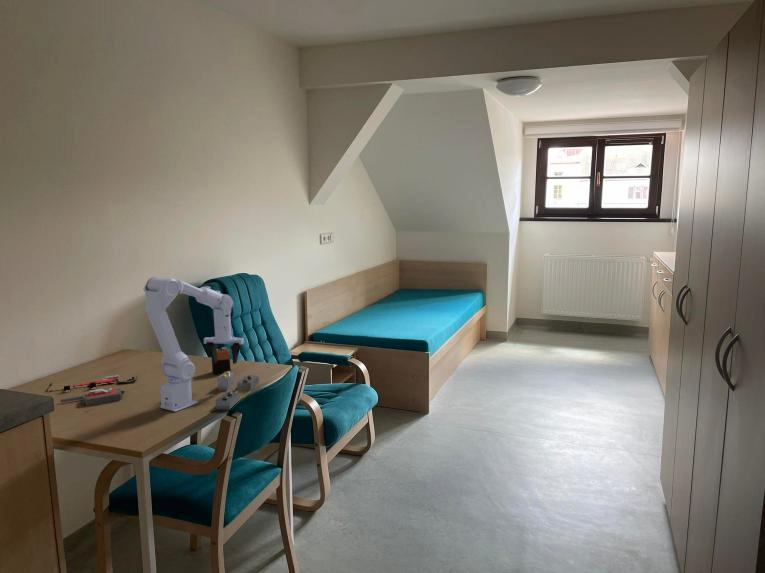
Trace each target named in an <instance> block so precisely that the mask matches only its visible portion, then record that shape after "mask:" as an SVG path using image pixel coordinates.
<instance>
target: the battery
mask: <svg viewBox="0 0 765 573" xmlns="http://www.w3.org/2000/svg"><path fill="white" fill-rule="evenodd" d="M230 355H231V353H230V349H229V348H228V347H227V346H223V347H221V348H217V362H216V363H213V361H212V360H211V368H212V371H211V372H212V374H213V375H221V374H220V373H222V374H223V373H224V372H226V371H230V372H231V357H230Z"/></svg>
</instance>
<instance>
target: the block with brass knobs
mask: <svg viewBox="0 0 765 573" xmlns="http://www.w3.org/2000/svg"><path fill="white" fill-rule="evenodd" d="M217 384H218V385H217V387H218V388H217V390H218V389H219V390H218V391H225V390H228V389H229V390H230V389H232V388H233V387H234V386H235V374H234V371H233V372H230V371H226V372H224V373H222V374H219V375H218V376H217ZM233 385H234V386H233ZM232 386H233V387H232ZM229 390H228V391H229Z"/></svg>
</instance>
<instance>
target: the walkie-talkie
mask: <svg viewBox="0 0 765 573" xmlns="http://www.w3.org/2000/svg"><path fill="white" fill-rule="evenodd" d="M123 394H125V390H122V388H115V389H112V387H110V388H109V389H107V390H106V389H103V388H96V389H93V390H89V391H88V392H87V393H85V394H84V395H81V396H80V395H79V396H73V397H67V398H62V399H61V398H60V401H59V402H60V403H65V402H73V401H78V400H82V405H85V407H89V406H90V407H91V405H92V406H97V405H102V404H101V403H103V404H108V403H107V402H109V403H114V401H115V402H120V401H119V400H121V401H122V400H123ZM96 404H97V405H96Z"/></svg>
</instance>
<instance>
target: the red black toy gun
mask: <svg viewBox="0 0 765 573" xmlns="http://www.w3.org/2000/svg"><path fill="white" fill-rule="evenodd" d="M119 377H120V374H118V375H114V376H106V377H105V379H103V380H100V381H94V382H88V383H85V384H81V383H80V384H79V385H73V387H75V386H83V385H90V387H89V389H90V388H93V387H96V388H97V386H96V384H101V383H110V382H115V380H116V378H119ZM137 378H138V375H137V376H135V377H132V379H129V380H127V381H124V382H122V383H129V382H136V381H137ZM116 381H117V380H116ZM115 383H116V382H115ZM122 383H121V384H122ZM47 390H48V388H47V389H46V391H47ZM66 390H70V391H71V389H70V385H68V386H64V390H63V392H64V391H66Z"/></svg>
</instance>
